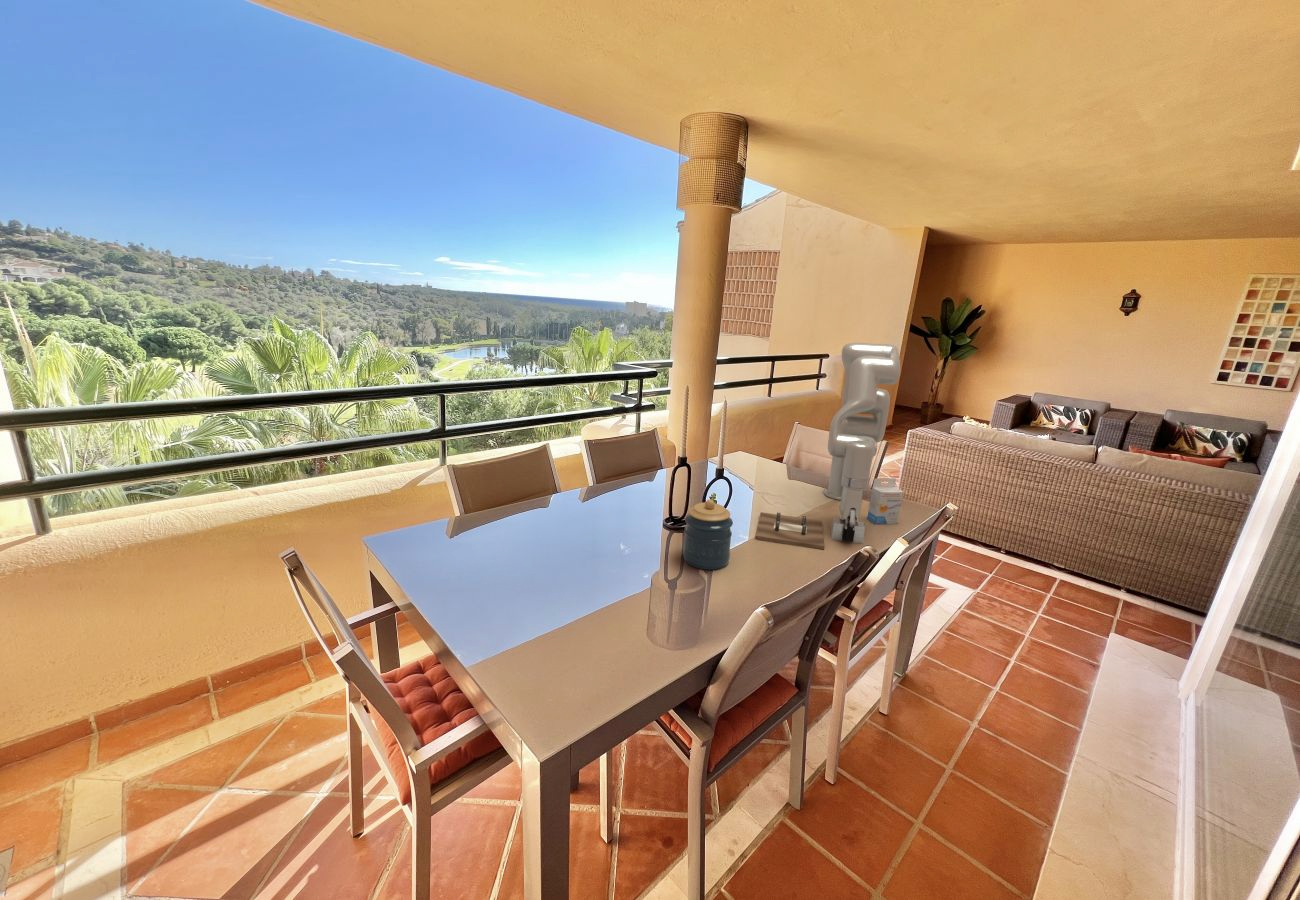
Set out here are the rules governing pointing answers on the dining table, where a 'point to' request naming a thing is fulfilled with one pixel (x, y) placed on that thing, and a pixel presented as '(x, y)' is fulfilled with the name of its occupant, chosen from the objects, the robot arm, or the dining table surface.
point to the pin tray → (790, 530)
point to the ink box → (885, 502)
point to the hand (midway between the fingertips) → (846, 535)
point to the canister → (707, 536)
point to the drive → (840, 525)
